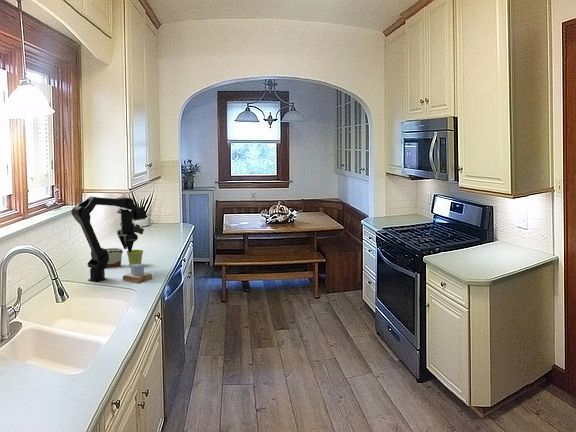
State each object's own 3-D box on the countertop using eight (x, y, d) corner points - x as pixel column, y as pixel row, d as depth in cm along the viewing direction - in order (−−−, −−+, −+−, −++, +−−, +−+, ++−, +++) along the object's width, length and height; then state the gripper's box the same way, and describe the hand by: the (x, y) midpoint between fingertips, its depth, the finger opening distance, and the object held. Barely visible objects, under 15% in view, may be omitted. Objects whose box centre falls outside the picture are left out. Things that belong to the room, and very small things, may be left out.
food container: (122, 264, 290) (121, 247, 289) (123, 266, 285) (123, 249, 284) (99, 266, 285) (98, 248, 284) (100, 268, 280) (99, 250, 278)
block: (143, 275, 257) (143, 265, 257) (134, 276, 254) (133, 266, 254) (140, 272, 261) (140, 263, 261) (130, 274, 258) (130, 264, 258)
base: (138, 283, 252) (138, 278, 251) (122, 280, 256) (122, 275, 255) (151, 278, 261) (151, 273, 260) (136, 276, 265) (136, 271, 264)
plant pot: (125, 268, 281) (125, 253, 280) (127, 264, 290) (127, 249, 289) (143, 268, 283) (142, 252, 282) (144, 264, 292) (144, 249, 291)
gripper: (147, 222, 262) (148, 252, 264) (137, 218, 278) (138, 246, 280) (125, 224, 256) (126, 254, 258) (116, 219, 272) (117, 248, 274)
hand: (127, 250), depth 268 cm, fingers open, 9 cm apart
